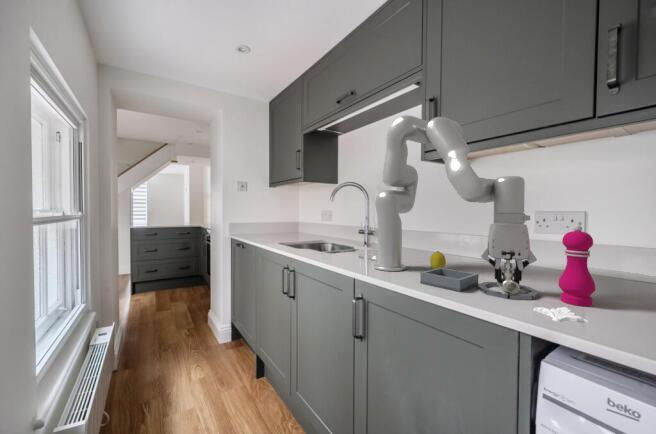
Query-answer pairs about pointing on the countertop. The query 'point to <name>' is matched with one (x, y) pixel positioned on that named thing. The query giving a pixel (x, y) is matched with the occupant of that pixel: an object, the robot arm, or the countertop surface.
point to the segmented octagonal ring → (531, 294)
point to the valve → (509, 276)
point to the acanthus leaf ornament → (560, 314)
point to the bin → (449, 279)
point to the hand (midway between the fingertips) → (507, 281)
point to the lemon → (437, 260)
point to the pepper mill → (577, 269)
